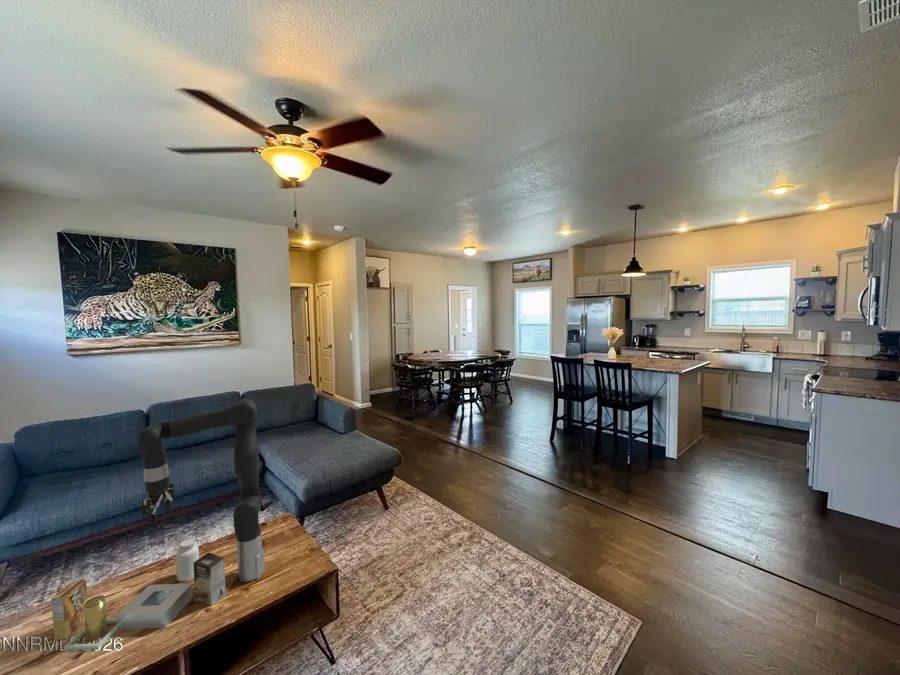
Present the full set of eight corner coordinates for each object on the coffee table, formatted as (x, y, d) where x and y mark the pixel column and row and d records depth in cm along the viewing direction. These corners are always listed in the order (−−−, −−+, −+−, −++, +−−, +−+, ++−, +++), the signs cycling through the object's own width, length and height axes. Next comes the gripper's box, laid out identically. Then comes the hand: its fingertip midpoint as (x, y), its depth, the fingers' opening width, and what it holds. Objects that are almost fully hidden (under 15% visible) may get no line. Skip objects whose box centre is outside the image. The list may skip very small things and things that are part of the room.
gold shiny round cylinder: (111, 628, 130) (109, 594, 130) (97, 642, 125) (95, 606, 124) (95, 629, 130) (93, 595, 129) (81, 642, 125) (78, 607, 124)
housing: (192, 599, 144) (191, 583, 144) (166, 630, 130) (165, 612, 130) (150, 600, 144) (149, 584, 143) (119, 631, 130) (118, 614, 129)
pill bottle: (204, 570, 160) (202, 537, 159) (189, 584, 152) (187, 549, 151) (187, 569, 161) (185, 536, 160) (172, 582, 153) (169, 548, 152)
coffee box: (194, 602, 143) (192, 562, 142) (209, 590, 149) (207, 552, 148) (211, 607, 140) (209, 567, 139) (226, 595, 146) (224, 556, 145)
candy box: (77, 619, 135) (73, 579, 134) (89, 618, 136) (86, 578, 135) (53, 640, 126) (49, 598, 125) (67, 639, 127) (63, 597, 126)
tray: (126, 623, 133) (126, 618, 133) (98, 651, 122) (97, 645, 122) (95, 624, 133) (94, 619, 133) (64, 652, 122) (63, 646, 122)
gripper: (153, 484, 135) (157, 527, 137) (179, 468, 149) (183, 506, 151) (131, 486, 135) (136, 528, 136) (160, 469, 149) (164, 508, 150)
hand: (160, 517), depth 143 cm, fingers open, 8 cm apart
